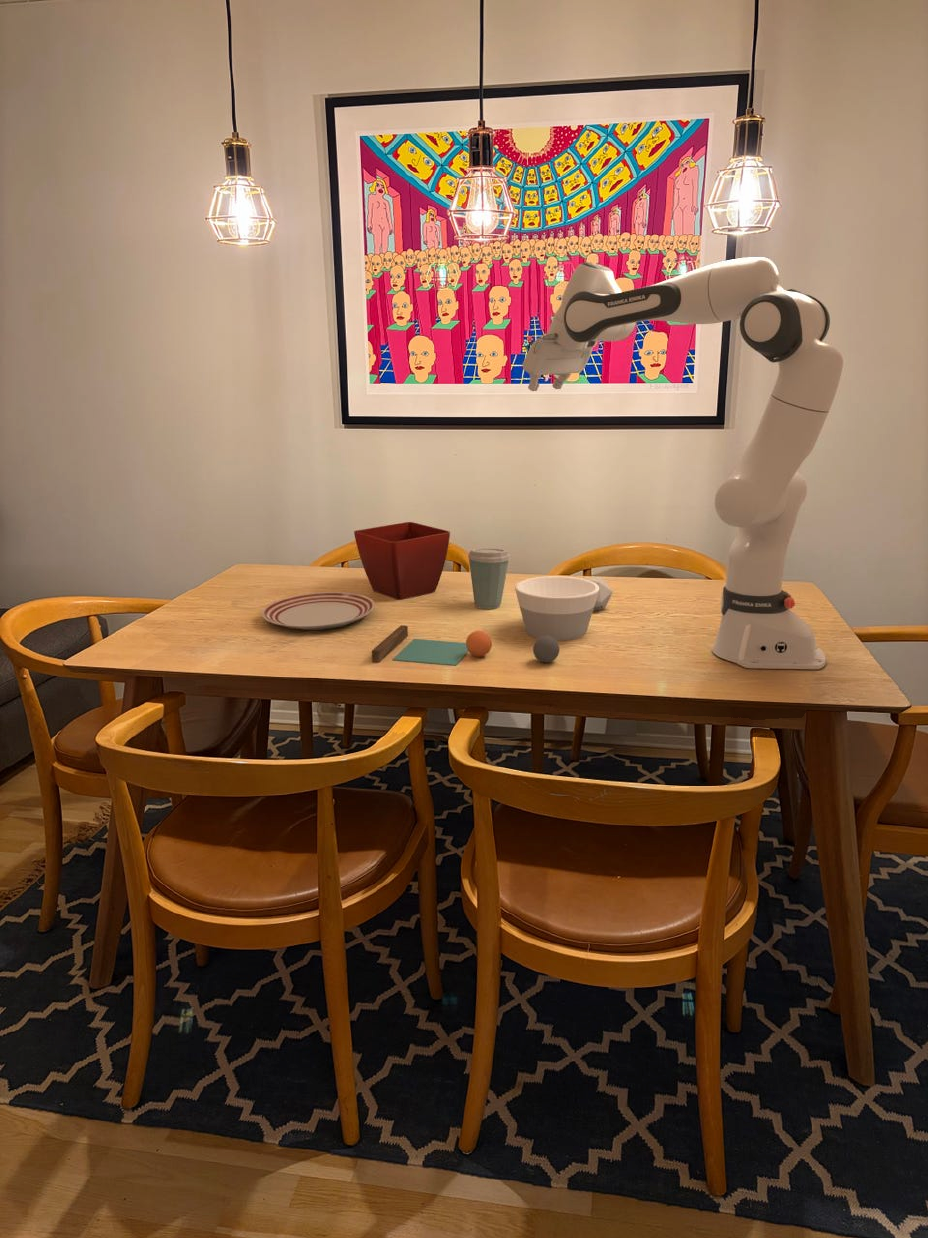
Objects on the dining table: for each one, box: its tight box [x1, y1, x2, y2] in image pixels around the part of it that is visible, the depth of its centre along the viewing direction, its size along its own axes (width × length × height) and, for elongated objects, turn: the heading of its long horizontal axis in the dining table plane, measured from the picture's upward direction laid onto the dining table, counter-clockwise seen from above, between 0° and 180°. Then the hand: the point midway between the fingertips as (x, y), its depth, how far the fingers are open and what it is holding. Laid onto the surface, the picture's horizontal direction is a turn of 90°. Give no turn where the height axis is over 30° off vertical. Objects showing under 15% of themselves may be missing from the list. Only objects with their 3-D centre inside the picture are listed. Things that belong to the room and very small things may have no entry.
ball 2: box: [532, 636, 561, 663], centre depth 175 cm, size 6×6×6 cm
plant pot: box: [353, 521, 451, 600], centre depth 227 cm, size 19×19×17 cm
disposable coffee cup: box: [467, 547, 511, 610], centre depth 213 cm, size 11×11×15 cm
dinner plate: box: [261, 591, 376, 631], centre depth 206 cm, size 27×27×3 cm
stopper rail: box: [371, 624, 409, 663], centre depth 184 cm, size 2×18×2 cm, turn 165°
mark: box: [392, 638, 469, 667], centre depth 182 cm, size 14×14×1 cm
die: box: [583, 576, 614, 611], centre depth 211 cm, size 8×9×10 cm
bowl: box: [514, 575, 599, 641], centre depth 194 cm, size 19×19×11 cm
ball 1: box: [465, 630, 492, 658], centre depth 178 cm, size 6×6×6 cm
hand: (544, 388), depth 200 cm, fingers open, 8 cm apart
